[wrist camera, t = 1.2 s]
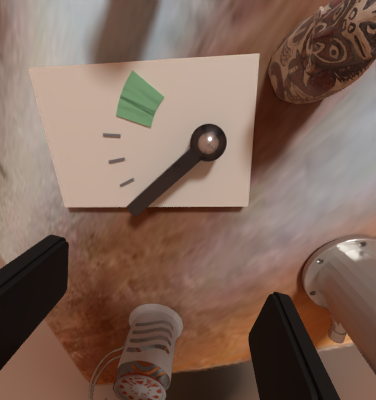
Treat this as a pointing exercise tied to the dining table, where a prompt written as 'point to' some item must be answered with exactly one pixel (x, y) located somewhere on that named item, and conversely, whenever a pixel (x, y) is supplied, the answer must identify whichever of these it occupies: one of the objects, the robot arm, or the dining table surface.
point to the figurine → (325, 52)
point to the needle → (183, 164)
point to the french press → (145, 353)
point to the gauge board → (148, 128)
